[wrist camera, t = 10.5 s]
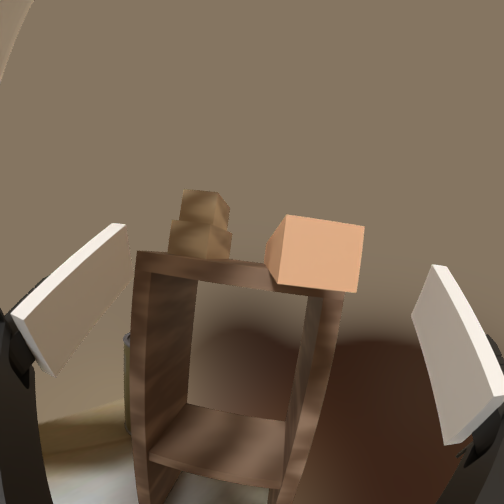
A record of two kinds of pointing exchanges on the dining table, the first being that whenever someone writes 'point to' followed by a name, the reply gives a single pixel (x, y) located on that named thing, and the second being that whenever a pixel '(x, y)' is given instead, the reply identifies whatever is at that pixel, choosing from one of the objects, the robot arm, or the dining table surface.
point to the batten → (315, 253)
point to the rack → (178, 361)
